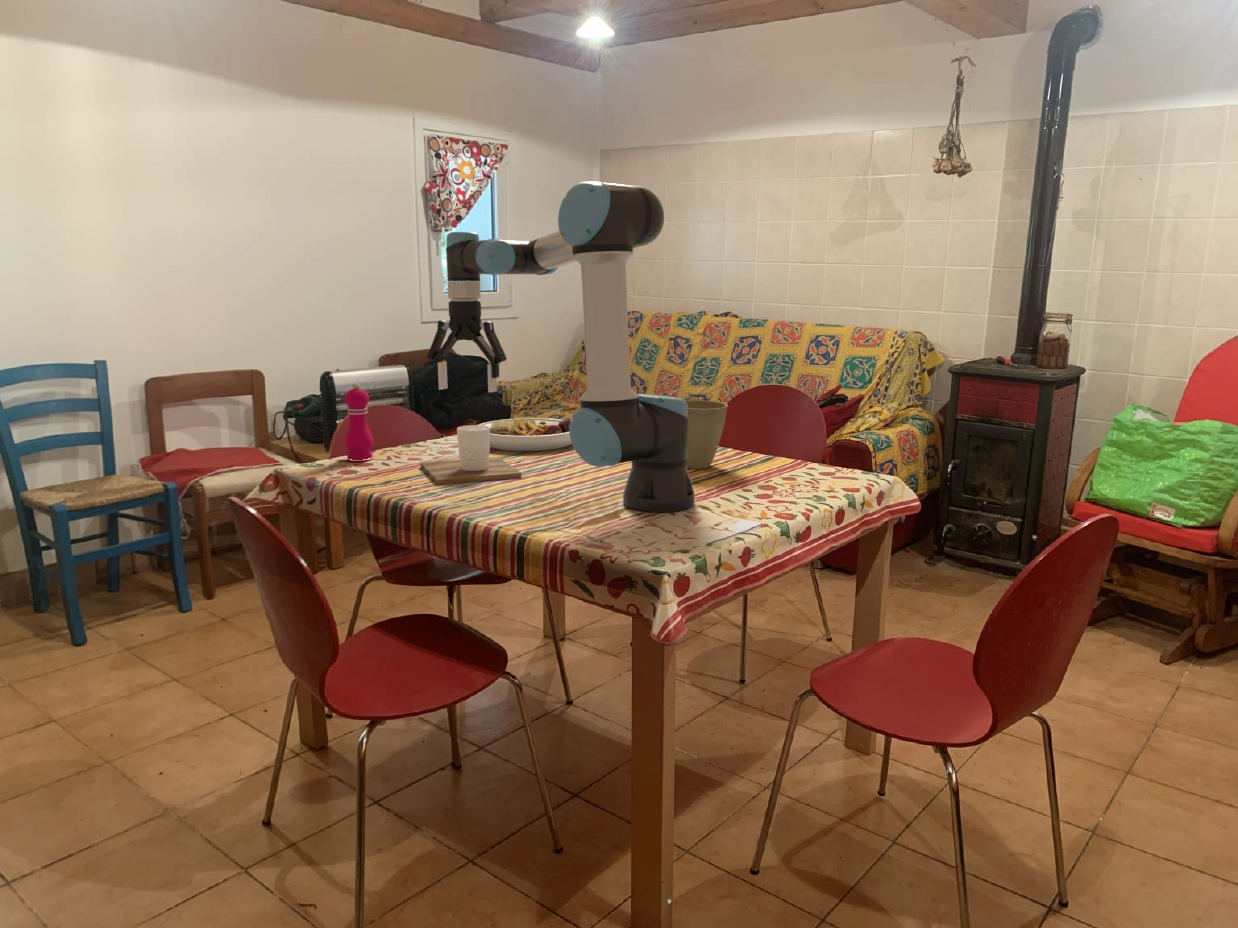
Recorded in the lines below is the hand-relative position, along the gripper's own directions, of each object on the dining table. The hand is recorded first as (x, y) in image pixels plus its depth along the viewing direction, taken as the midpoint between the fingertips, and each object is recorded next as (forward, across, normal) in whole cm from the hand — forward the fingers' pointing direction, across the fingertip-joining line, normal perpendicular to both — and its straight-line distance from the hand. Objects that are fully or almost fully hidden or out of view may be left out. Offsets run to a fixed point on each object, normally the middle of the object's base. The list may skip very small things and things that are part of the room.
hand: (467, 390), depth 213 cm
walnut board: (+20, 0, 0) cm, 20 cm away
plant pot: (+21, -49, -29) cm, 60 cm away
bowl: (+20, +5, -40) cm, 46 cm away
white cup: (+19, -1, 0) cm, 19 cm away
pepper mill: (+20, +34, -2) cm, 40 cm away
